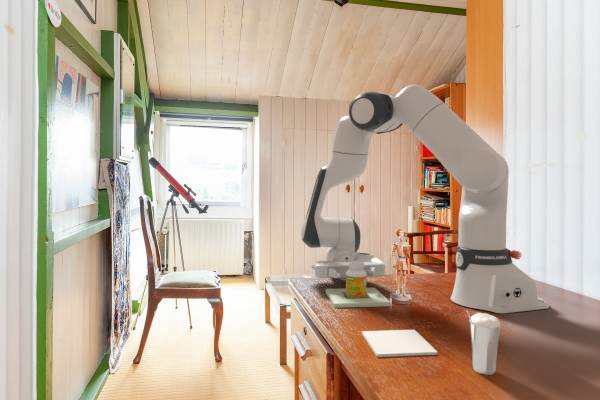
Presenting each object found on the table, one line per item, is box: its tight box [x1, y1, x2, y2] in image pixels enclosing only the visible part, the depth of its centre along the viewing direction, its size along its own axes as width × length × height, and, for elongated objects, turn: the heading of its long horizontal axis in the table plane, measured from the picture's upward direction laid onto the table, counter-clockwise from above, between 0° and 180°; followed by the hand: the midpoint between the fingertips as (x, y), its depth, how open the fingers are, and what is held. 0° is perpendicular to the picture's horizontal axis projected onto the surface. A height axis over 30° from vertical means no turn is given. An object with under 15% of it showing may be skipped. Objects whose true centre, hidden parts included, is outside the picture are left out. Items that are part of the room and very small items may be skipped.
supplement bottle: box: [345, 261, 367, 299], centre depth 106 cm, size 5×5×10 cm
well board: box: [325, 287, 391, 309], centre depth 106 cm, size 14×14×1 cm
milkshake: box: [465, 309, 501, 376], centre depth 65 cm, size 4×5×10 cm
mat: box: [361, 329, 438, 358], centre depth 76 cm, size 11×11×1 cm
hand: (354, 274), depth 108 cm, fingers open, 8 cm apart
